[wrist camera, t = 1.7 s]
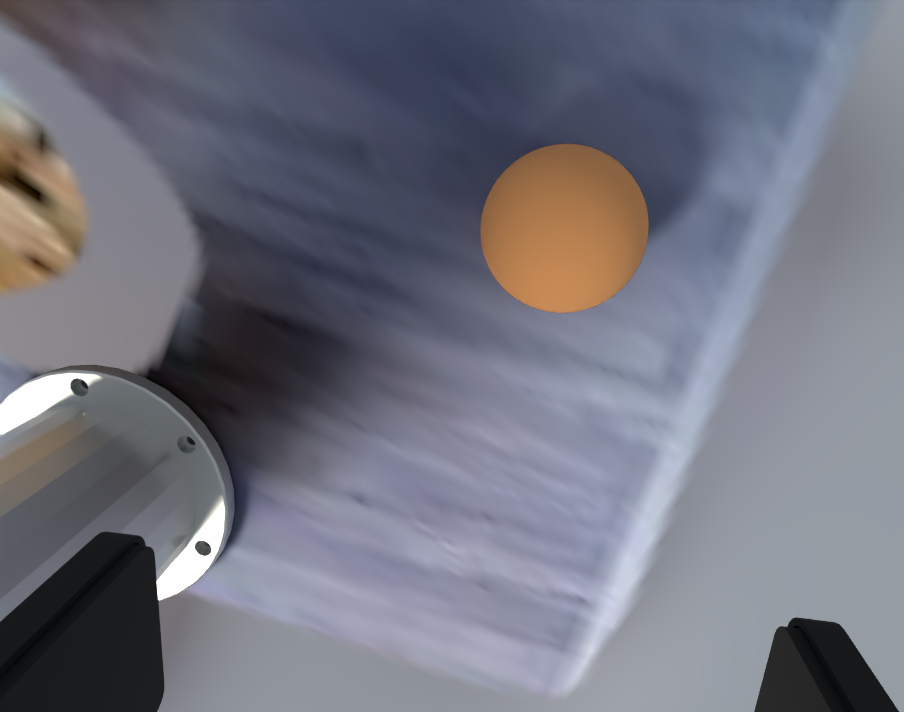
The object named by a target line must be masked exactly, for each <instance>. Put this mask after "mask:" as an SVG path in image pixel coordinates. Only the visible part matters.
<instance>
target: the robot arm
mask: <svg viewBox="0 0 904 712" xmlns="http://www.w3.org/2000/svg"><path fill="white" fill-rule="evenodd" d="M234 513H235V504H234V488H233V484H232V479H231V475H230V471H229V467H228V465H227V463H226V460H225V458H224V456H223V454H222V451H221V449H220V447H219V445H218V443H217V442H216V440H215V439H214V437H213V436H212V434H211V433H210V431H209V430H208V428H207V427H206V425H205V424H204V423H203V422H202V421H201V420H200V419H199V418H198V417H197V415H196V414H195V413H194V412H193V411H192V410H191V409H190V408H189V407H188V406H187V405H186V404H185V403H183V402H182V401H181V400H179V399H178V398H177V397H175V396H174V395H173V394H172V393H170V392H169V391H168V390H166V389H165V388H163V387H161V386H159V385H157V384H155V383H154V382H152V381H150V380H148V379H146V378H144V377H142V376H139V375H136V374H133V373H130V372H127V371H124V370H121V369H118V368H111V367H105V366H98V365H80V366H68V367H64V368H60V369H56V370H52V371H49V372H47V373H45V374H43V375H40V376H38V377H36V378H34V379H31V380H29V381H27V382H25V383H24V384H22V385H21V386H19V387H18V388H16V389H15V390H13V391H12V392H11V393H9V394H8V395H7V397H6V398H5V399H4V400H3V401H2V402H1V403H0V712H157V710H158V709H159V706H160V703H161V701H162V697H163V693H164V673H163V660H162V646H161V632H160V620H159V606H158V601H159V600H163V599H166V598H168V597H171V596H174V595H176V594H179V593H181V592H183V591H184V590H186V589H187V588H189V587H190V586H192V585H193V584H195V583H196V582H198V581H199V579H200V578H201V577H202V576H203V575H204V574H205V573H206V572H207V571H208V570H209V569H210V568H211V566H212V565H213V564H214V562H215V561H216V559H217V558H218V557H219V555H220V554H221V552H222V551H223V550H224V547H225V545H226V542H227V540H228V538H229V535H230V533H231V530H232V524H233V518H234ZM755 712H899V711H898V710H897V708H896V707H895V705H894V704H893V702H892V701H891V699H890V698H889V696H888V695H887V693H886V692H885V690H884V689H883V687H882V686H881V684H880V683H879V681H878V680H877V678H876V677H875V675H874V674H873V672H872V671H871V669H870V668H869V666H868V665H867V663H866V662H865V660H864V659H863V657H862V656H861V654H860V653H859V651H858V650H857V648H856V647H855V645H854V644H853V642H852V641H851V639H850V638H849V636H848V635H847V633H846V632H845V630H844V629H843V628H842V627H841V626H840V625H839V624H837V623H835V622H828V621H819V620H812V619H804V618H793V619H792V620H791V621H790V622H789V624H788V627H782V626H781V627H779V628H778V629H777V630H776V632H775V635H774V639H773V643H772V646H771V650H770V654H769V658H768V662H767V665H766V669H765V673H764V677H763V681H762V685H761V688H760V692H759V696H758V700H757V704H756V707H755Z"/></svg>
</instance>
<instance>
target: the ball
mask: <svg viewBox="0 0 904 712" xmlns="http://www.w3.org/2000/svg"><path fill="white" fill-rule="evenodd" d="M648 232H649V219H648V212H647V206H646V203H645V199H644V196H643V194H642V192H641V190H640V187H639V186H638V184H637V182H636V181H635V179H634V178H633V176H632V175H631V174H630V173H629V172H628V170H627V169H626V168H625V167H624V166H622V165H621V164H620V163H619V162H618V161H617V160H615V159H614V158H612V157H611V156H609V155H608V154H606V153H604V152H602V151H600V150H598V149H594V148H591V147H588V146H584V145H578V144H557V145H550V146H546V147H542V148H539V149H537V150H534V151H532V152H530V153H528V154H526V155H524V156H522V157H521V158H519V159H518V160H517V161H515V162H514V163H512V164H511V165H510V166H509V167H508V168H507V169H506V170H505V171H504V172H503V173H502V174H501V176H500V177H499V178H498V179H497V181H496V182H495V184H494V185H493V187H492V189H491V190H490V193H489V195H488V197H487V199H486V202H485V205H484V208H483V213H482V218H481V231H480V234H481V245H482V249H483V254H484V257H485V260H486V262H487V265H488V267H489V269H490V271H491V273H492V274H493V276H494V277H495V279H496V280H497V282H498V283H499V284H500V285H501V286H502V287H503V288H504V289H505V290H506V291H507V292H508V293H509V294H510V295H512V296H513V297H514V298H516V299H517V300H519V301H521V302H522V303H524V304H526V305H528V306H530V307H533V308H536V309H539V310H543V311H548V312H556V313H568V312H576V311H582V310H585V309H588V308H592V307H594V306H596V305H598V304H601V303H603V302H604V301H606V300H608V299H609V298H611V297H612V296H614V295H615V294H616V293H617V292H618V291H620V290H621V289H622V288H623V287H624V286H625V285H626V284H627V282H628V281H629V280H630V279H631V277H632V276H633V275H634V273H635V271H636V270H637V268H638V266H639V264H640V262H641V260H642V257H643V255H644V252H645V248H646V244H647V240H648Z"/></svg>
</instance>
